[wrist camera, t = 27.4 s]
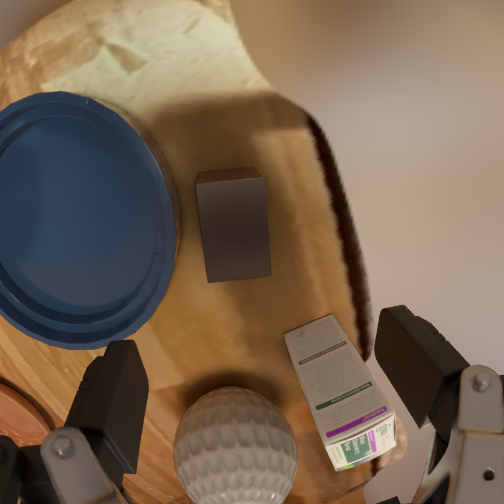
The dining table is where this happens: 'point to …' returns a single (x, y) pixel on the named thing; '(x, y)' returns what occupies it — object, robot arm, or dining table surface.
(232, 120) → the dining table surface
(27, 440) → the saucer
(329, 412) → the syrup box
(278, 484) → the vase
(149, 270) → the glazed bowl
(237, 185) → the dark brown block
